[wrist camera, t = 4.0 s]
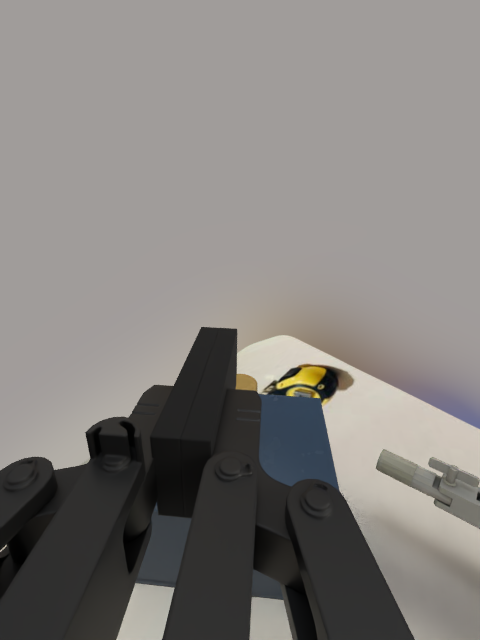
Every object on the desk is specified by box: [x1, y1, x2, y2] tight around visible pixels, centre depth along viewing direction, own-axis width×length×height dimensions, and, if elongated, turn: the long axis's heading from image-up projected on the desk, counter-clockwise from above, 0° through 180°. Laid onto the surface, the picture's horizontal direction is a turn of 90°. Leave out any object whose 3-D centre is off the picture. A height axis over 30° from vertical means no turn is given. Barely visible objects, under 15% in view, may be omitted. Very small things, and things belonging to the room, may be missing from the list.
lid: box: [154, 374, 339, 512], centre depth 30 cm, size 16×14×7 cm
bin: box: [135, 511, 284, 600], centre depth 33 cm, size 16×14×9 cm
